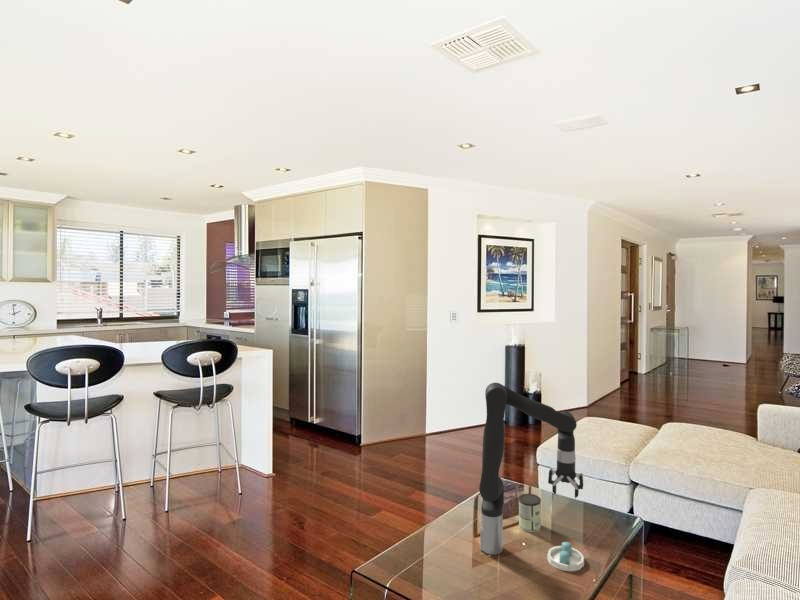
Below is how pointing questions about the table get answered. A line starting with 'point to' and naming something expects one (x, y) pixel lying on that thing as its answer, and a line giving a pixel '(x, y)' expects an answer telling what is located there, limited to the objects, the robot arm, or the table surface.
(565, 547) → the bead
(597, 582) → the table surface
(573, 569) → the ring tray
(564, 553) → the bead
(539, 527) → the coffee can
